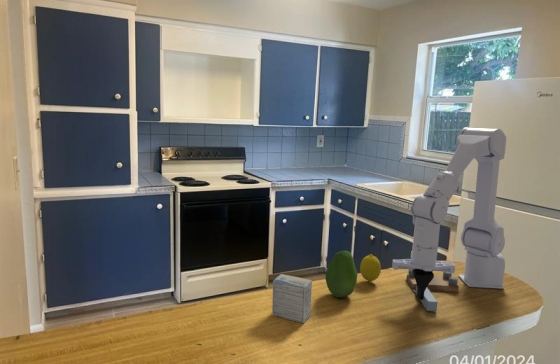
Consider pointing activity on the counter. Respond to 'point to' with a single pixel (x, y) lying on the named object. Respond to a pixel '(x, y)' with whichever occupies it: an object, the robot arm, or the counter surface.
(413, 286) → the board
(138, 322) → the counter surface
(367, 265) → the lemon
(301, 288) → the medicine box
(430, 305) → the hinged leg
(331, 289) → the avocado
